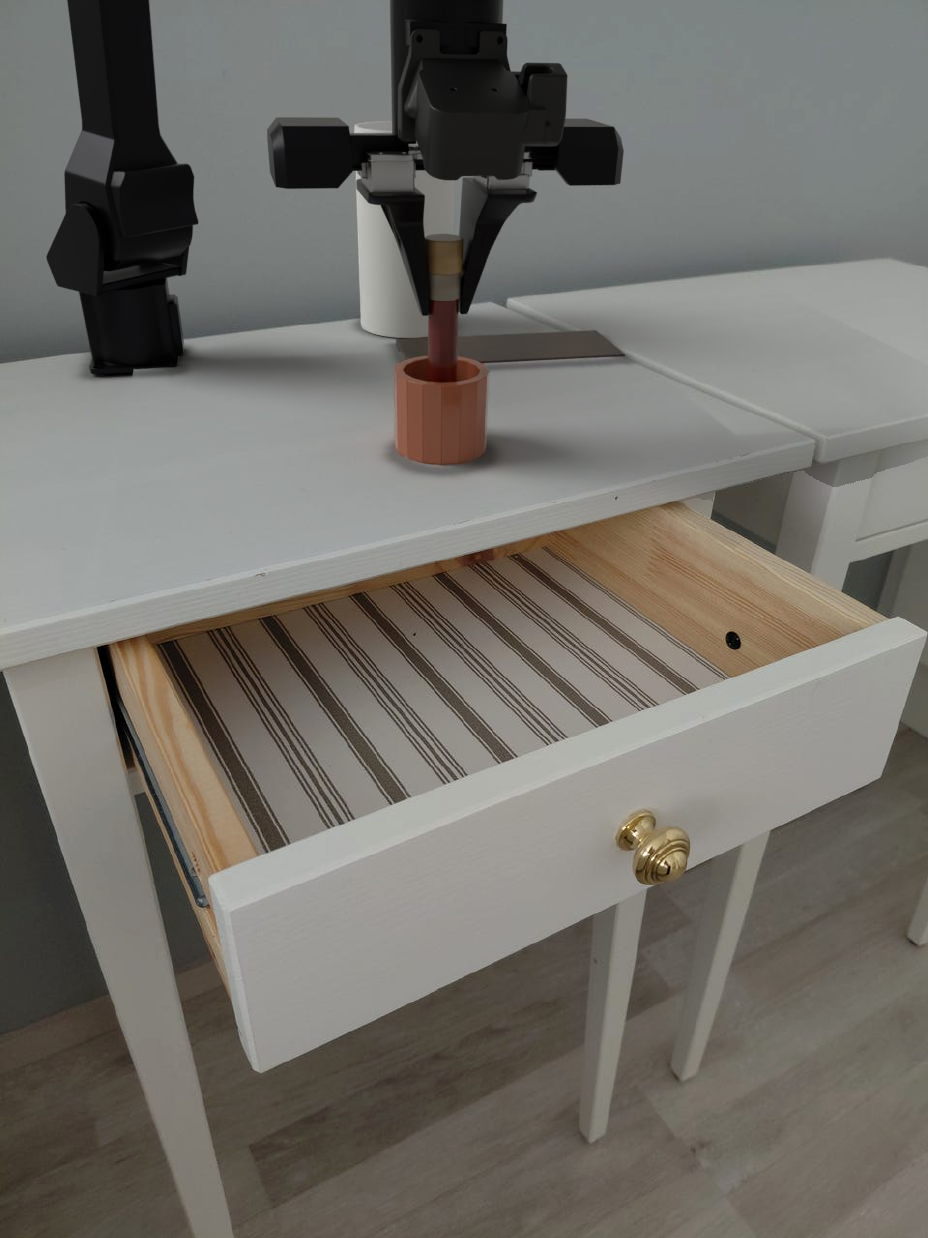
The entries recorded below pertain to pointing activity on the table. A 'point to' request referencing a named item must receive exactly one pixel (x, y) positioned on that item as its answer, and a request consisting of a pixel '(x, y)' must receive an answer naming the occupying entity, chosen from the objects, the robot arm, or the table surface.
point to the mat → (521, 346)
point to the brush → (443, 305)
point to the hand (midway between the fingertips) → (443, 313)
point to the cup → (395, 254)
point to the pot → (440, 413)
